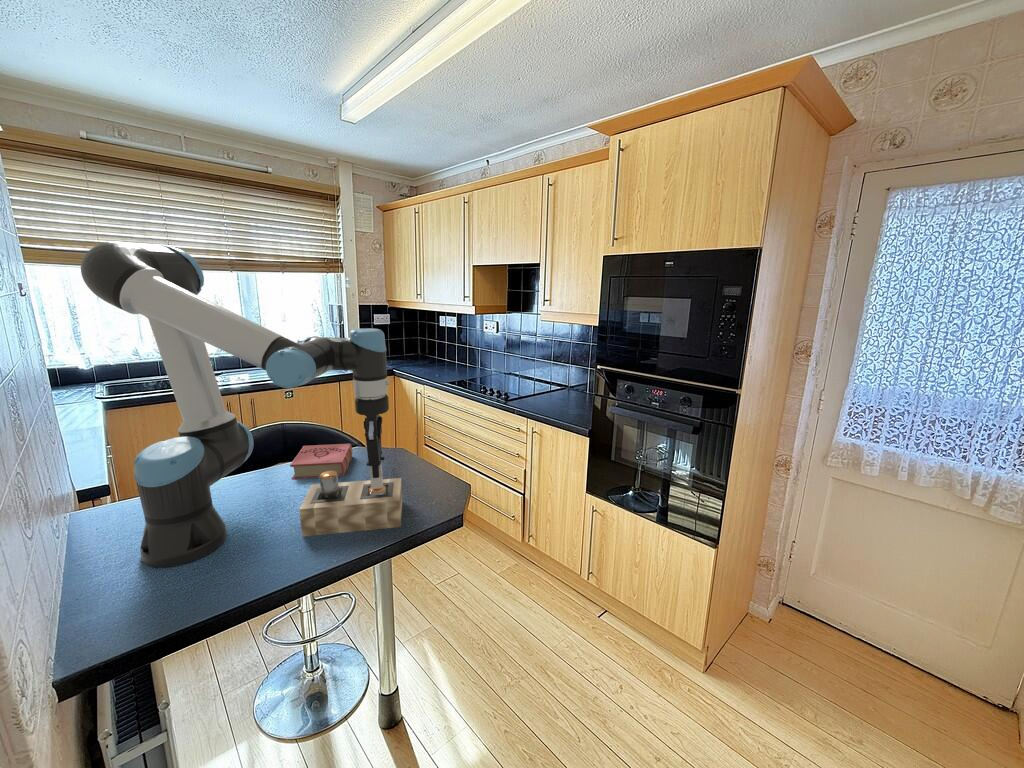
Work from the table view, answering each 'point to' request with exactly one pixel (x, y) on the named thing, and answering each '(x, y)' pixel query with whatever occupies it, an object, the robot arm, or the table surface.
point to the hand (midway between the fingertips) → (377, 487)
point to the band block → (352, 509)
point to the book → (321, 460)
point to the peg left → (329, 485)
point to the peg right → (377, 491)
